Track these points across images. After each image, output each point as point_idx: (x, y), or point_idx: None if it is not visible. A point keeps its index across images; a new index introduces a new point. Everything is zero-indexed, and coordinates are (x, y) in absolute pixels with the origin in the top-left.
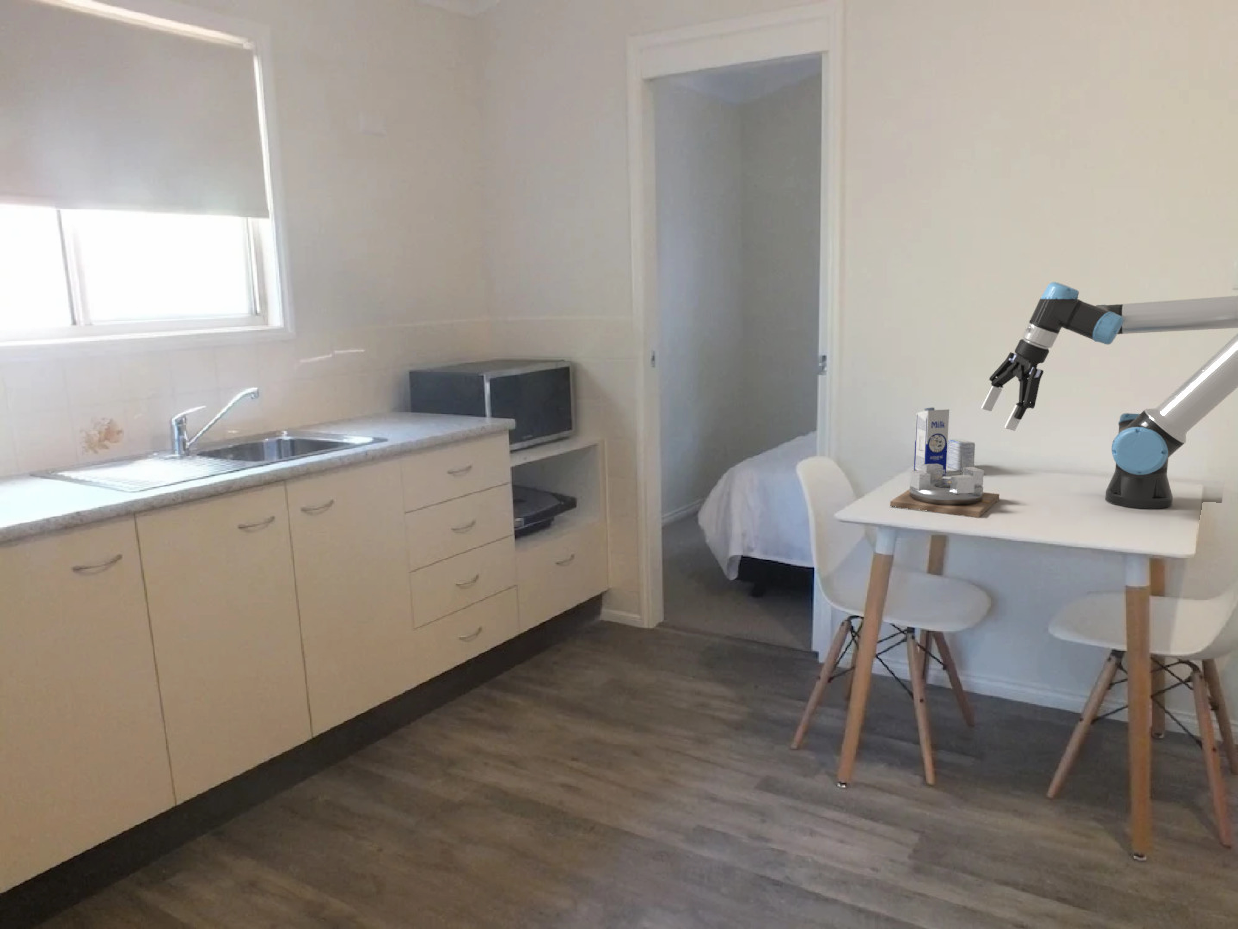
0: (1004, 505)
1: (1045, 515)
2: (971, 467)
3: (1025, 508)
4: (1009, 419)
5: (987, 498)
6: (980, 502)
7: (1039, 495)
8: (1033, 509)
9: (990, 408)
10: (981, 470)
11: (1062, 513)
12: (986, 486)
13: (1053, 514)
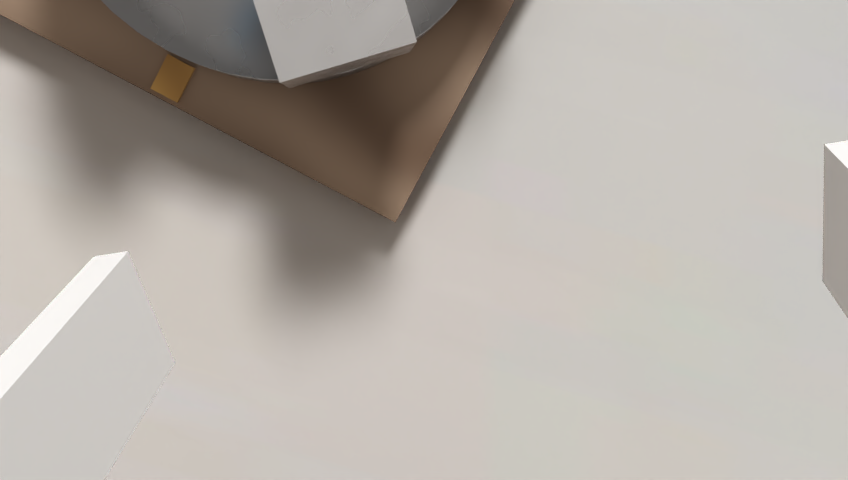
0: (250, 207)
1: None
2: (394, 21)
3: (183, 301)
4: (39, 322)
5: (270, 116)
6: None
7: (500, 464)
8: None
9: (835, 274)
10: (275, 64)
11: None
12: (731, 242)
13: None
